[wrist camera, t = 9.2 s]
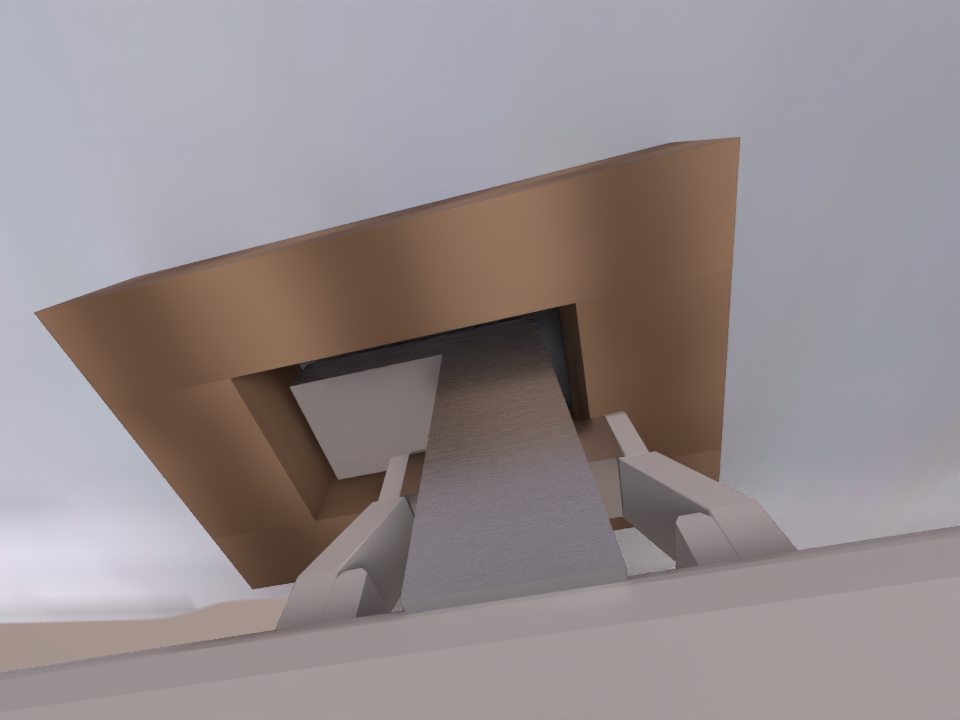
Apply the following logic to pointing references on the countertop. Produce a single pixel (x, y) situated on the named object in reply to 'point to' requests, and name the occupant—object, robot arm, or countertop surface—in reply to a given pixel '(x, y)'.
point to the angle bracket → (471, 462)
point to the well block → (418, 332)
